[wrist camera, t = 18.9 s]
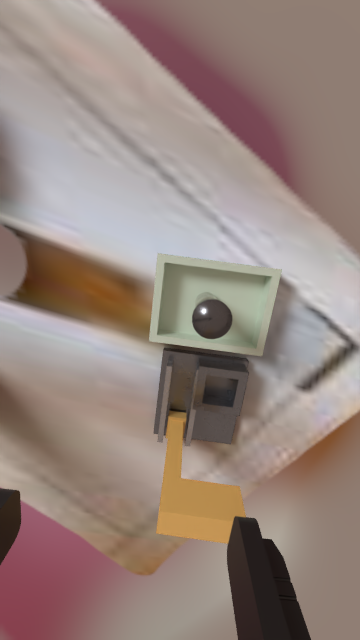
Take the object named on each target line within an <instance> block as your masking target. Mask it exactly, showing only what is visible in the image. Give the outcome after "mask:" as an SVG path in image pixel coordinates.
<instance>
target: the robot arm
mask: <svg viewBox="0 0 360 640" xmlns="http://www.w3.org/2000/svg"><path fill="white" fill-rule="evenodd" d="M20 524H21V505H20V492H19V491H18V490H10V489H1V488H0V565H1V563H2V561H3V560H4V558H5V556H6V555H7V553H8V551H9V549H10V548H11V546H12V544H13V543H14V541H15V539H16V537H17V535H18V532H19V529H20ZM227 565H228V572H229V579H230V586H231V593H232V600H233V607H234V614H235V621H236V628H237V635H238V640H311V638H310V635H309V632H308V629H307V626H306V624H305V621H304V618H303V615H302V612H301V609H300V606H299V603H298V602H297V599H296V594H295V591H294V588H293V585H292V583H291V582H290V576H289V573H288V570H287V567H286V564H285V561H284V558H283V556H282V555H281V553H280V552H279V550H278V549H277V547H276V546H275V544H274V542H273V541H272V540H271V539H263V538H262V536H261V532H260V528H259V525H258V522H257V520H256V519H255V518H247V517H239V516H235V517H234V520H233V525H232V529H231V533H230V537H229V542H228V548H227Z"/></svg>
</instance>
